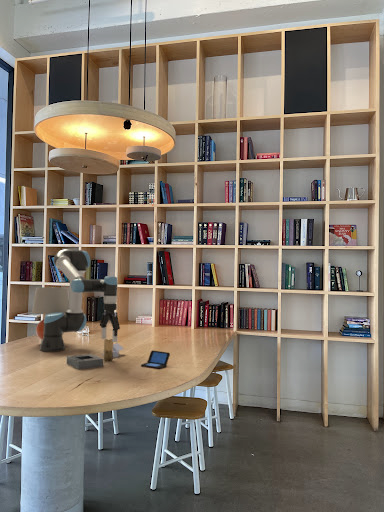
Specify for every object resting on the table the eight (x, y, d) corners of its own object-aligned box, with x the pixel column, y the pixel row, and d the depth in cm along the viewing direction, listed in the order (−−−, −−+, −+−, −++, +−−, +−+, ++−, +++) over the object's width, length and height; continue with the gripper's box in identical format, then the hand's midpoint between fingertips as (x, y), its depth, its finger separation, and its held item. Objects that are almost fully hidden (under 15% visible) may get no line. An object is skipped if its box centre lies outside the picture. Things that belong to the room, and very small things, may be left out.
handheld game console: (139, 366, 226) (140, 353, 227) (151, 363, 236) (151, 350, 236) (159, 370, 220) (159, 355, 221) (170, 366, 230) (170, 352, 230)
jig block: (66, 363, 228) (66, 356, 228) (90, 361, 237) (90, 353, 237) (78, 369, 215) (78, 361, 216) (103, 366, 224) (103, 358, 224)
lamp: (73, 341, 300) (75, 287, 301) (59, 347, 275) (61, 288, 277) (40, 340, 302) (43, 286, 304) (23, 346, 277) (26, 287, 279)
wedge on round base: (110, 353, 262) (100, 356, 249) (111, 342, 262) (101, 345, 249) (123, 354, 259) (114, 358, 247) (124, 343, 259) (114, 346, 247)
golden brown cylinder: (102, 360, 239) (102, 339, 240) (110, 359, 243) (110, 338, 243) (106, 361, 236) (106, 340, 236) (114, 360, 239) (114, 339, 239)
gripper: (94, 302, 248) (93, 338, 247) (114, 304, 228) (113, 343, 227) (106, 301, 253) (105, 337, 251) (126, 304, 233) (125, 342, 232)
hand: (109, 340), depth 239 cm, fingers open, 13 cm apart
